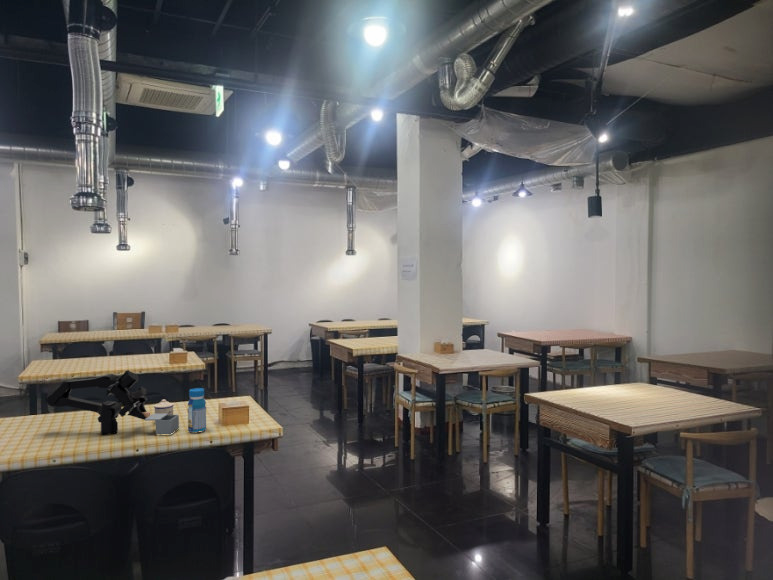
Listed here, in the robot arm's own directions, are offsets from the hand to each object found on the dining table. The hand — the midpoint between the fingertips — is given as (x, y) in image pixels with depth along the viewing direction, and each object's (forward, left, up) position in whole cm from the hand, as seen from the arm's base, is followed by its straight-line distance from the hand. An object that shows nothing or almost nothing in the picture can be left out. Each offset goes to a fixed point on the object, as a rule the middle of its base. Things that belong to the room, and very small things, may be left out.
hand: (146, 418), depth 246 cm
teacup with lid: (+11, +14, -7) cm, 19 cm away
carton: (+8, -5, -7) cm, 12 cm away
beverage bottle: (+20, -11, -7) cm, 24 cm away
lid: (+2, -1, 0) cm, 3 cm away
